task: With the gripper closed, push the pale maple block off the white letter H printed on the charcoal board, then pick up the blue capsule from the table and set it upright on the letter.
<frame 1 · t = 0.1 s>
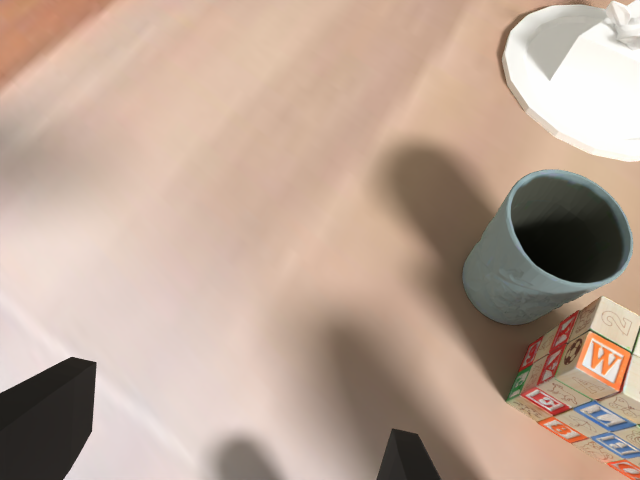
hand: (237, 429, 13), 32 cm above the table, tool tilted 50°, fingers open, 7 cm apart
teal cup: (506, 286, 51), on the table
stack of blocks: (628, 441, 46), on the table
dish: (598, 82, 66), on the table
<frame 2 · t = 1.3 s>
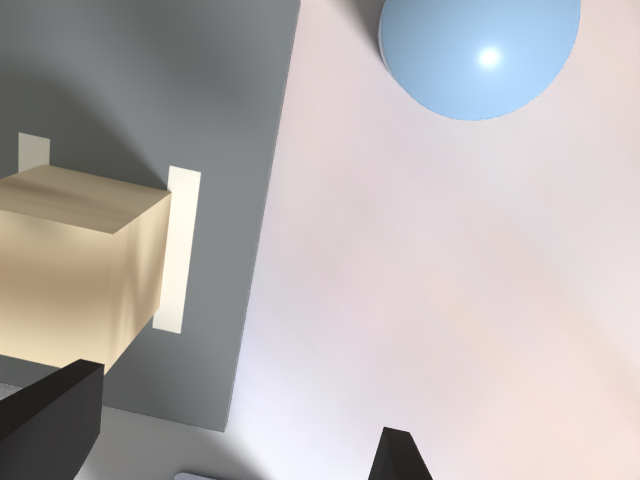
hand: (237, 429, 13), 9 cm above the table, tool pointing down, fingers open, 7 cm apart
maple block: (103, 238, 21), point 1 cm above the table, touching letter board
letter board: (38, 195, 21), on the table
blue capsule: (444, 32, 18), on the table
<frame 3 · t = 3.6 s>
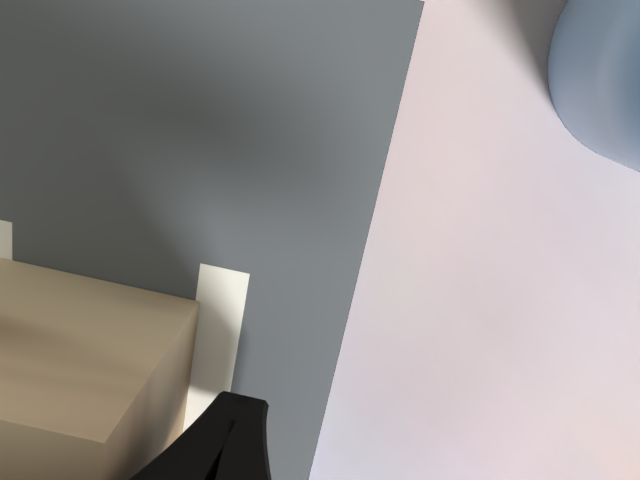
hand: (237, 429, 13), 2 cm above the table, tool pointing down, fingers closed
maple block: (95, 365, 14), point 1 cm above the table, touching gripper
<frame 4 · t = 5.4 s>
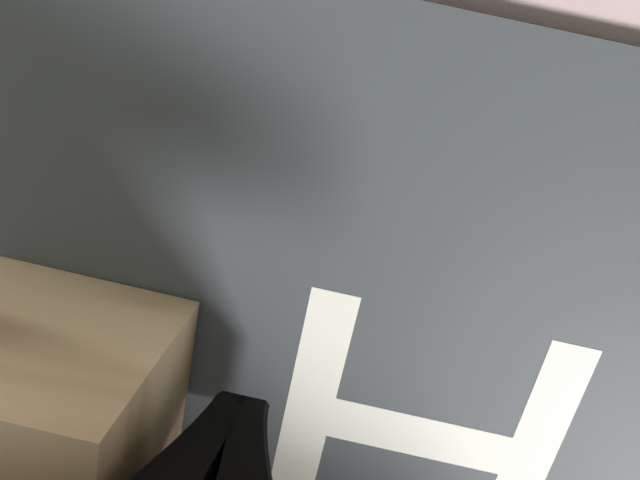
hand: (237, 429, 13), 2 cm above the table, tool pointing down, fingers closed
maple block: (94, 365, 14), point 1 cm above the table, touching gripper, letter board
letter board: (313, 368, 14), on the table
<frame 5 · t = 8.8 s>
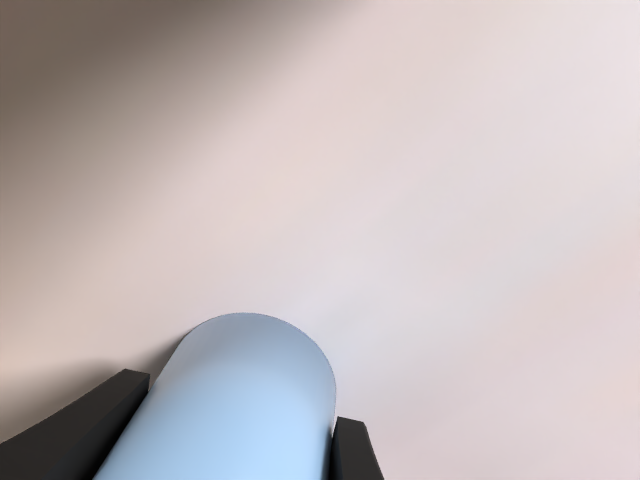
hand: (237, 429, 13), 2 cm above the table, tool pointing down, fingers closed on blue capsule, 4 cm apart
blue capsule: (251, 388, 14), on the table, touching gripper
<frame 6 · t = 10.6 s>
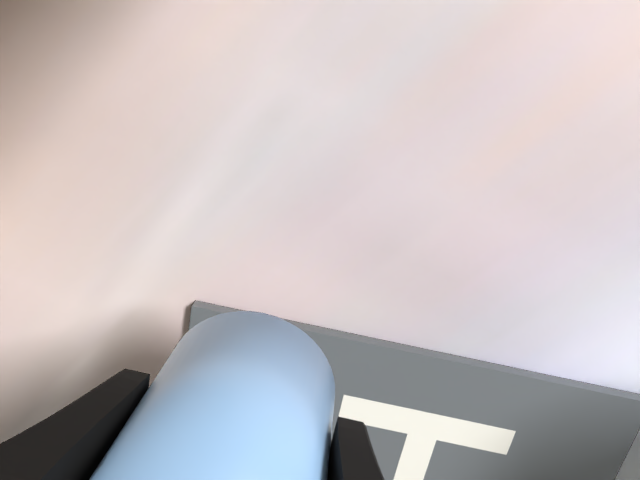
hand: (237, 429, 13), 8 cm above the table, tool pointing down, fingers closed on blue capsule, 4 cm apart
blue capsule: (250, 387, 14), point 7 cm above the table, touching gripper
when the fingers open (3 cm above the table, at t = 12.6 s): blue capsule drops 1 cm, resting on letter board.
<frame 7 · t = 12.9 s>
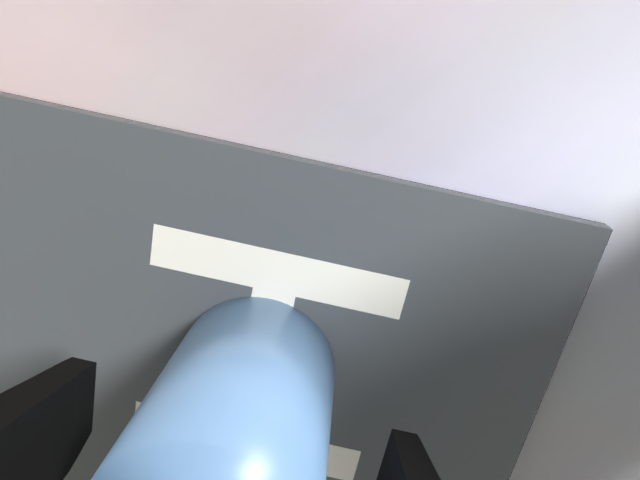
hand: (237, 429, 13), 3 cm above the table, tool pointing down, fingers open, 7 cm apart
letter board: (217, 426, 17), on the table
blue capsule: (257, 368, 15), point 1 cm above the table, touching letter board
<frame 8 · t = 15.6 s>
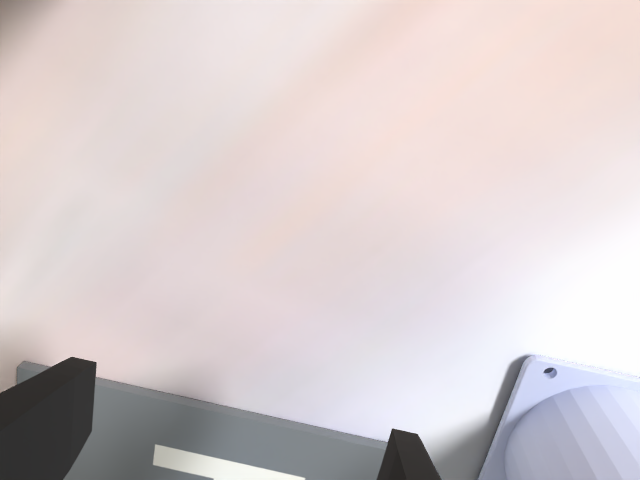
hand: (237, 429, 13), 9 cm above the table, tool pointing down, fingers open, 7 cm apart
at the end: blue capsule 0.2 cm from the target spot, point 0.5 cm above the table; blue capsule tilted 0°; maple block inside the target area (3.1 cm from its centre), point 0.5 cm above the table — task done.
